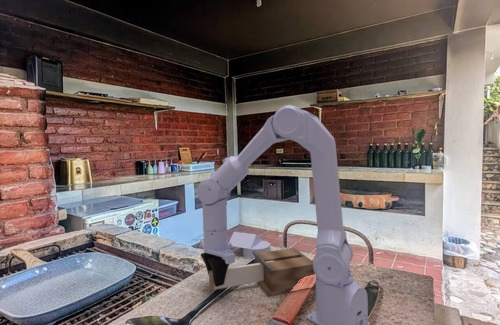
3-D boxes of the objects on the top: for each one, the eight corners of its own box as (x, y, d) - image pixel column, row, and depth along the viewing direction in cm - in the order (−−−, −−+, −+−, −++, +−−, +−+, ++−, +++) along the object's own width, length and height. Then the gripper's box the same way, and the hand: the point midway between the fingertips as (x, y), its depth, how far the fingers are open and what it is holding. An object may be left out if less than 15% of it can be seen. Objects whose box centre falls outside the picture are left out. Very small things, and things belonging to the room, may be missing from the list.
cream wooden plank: (274, 277, 74) (273, 260, 74) (275, 278, 73) (275, 262, 73) (209, 288, 69) (208, 270, 69) (210, 290, 68) (209, 272, 68)
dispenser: (294, 268, 82) (294, 245, 82) (316, 287, 71) (315, 260, 71) (251, 275, 78) (251, 251, 78) (267, 296, 67) (267, 268, 67)
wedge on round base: (227, 255, 94) (263, 261, 88) (227, 235, 93) (263, 240, 88) (240, 246, 102) (274, 251, 96) (240, 228, 102) (274, 232, 96)
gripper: (245, 231, 65) (247, 290, 65) (216, 219, 77) (217, 268, 77) (218, 238, 61) (219, 299, 62) (191, 224, 73) (193, 275, 74)
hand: (217, 283), depth 69 cm, fingers closed on cream wooden plank, 2 cm apart
